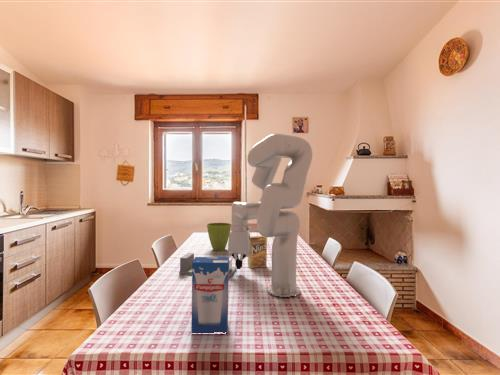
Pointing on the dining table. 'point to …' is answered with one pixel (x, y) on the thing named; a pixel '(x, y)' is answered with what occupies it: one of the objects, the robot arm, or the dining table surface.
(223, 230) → the flower pot
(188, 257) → the board
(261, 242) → the candy box
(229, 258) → the plunger
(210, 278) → the milk carton
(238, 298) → the dining table surface
